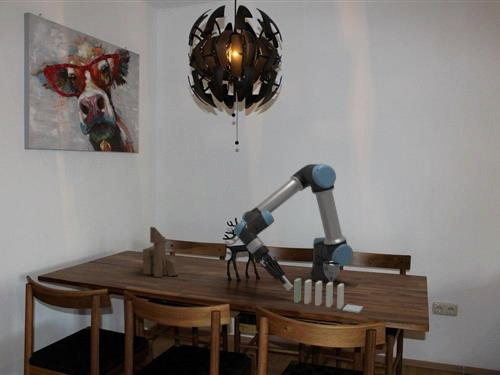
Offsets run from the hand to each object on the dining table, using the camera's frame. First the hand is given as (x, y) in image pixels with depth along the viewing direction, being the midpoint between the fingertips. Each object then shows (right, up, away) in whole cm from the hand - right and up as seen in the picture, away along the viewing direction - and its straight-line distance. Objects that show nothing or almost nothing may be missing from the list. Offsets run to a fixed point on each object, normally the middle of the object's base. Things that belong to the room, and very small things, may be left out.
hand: (290, 288), depth 211 cm
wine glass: (+21, -5, +13) cm, 25 cm away
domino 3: (+12, -6, -5) cm, 14 cm away
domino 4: (+17, -6, -7) cm, 19 cm away
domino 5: (+21, -6, -10) cm, 24 cm away
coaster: (+26, -6, -12) cm, 29 cm away
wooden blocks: (-67, -3, +50) cm, 84 cm away
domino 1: (+3, -6, -1) cm, 6 cm away
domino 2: (+8, -6, -3) cm, 10 cm away
